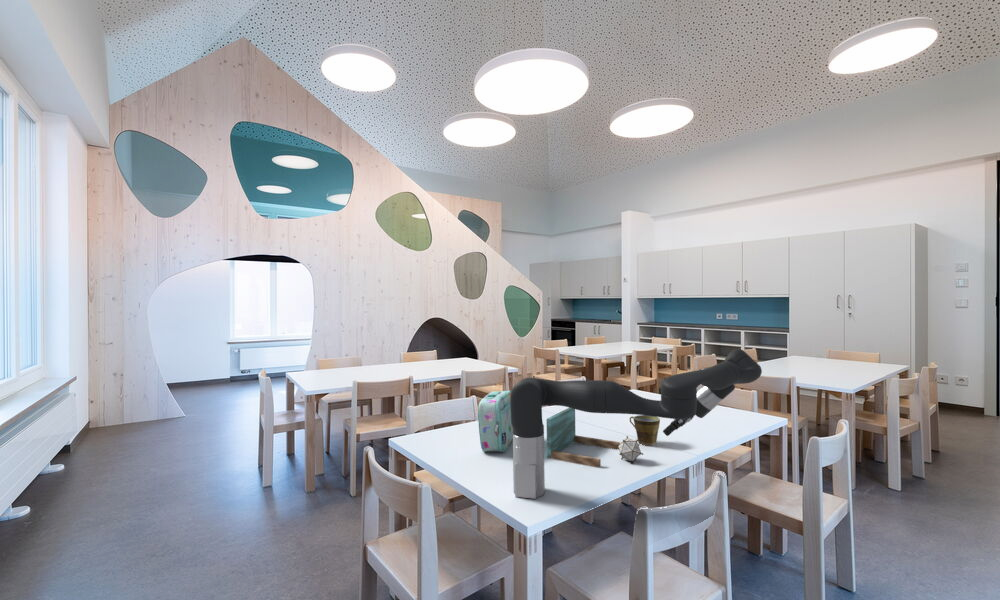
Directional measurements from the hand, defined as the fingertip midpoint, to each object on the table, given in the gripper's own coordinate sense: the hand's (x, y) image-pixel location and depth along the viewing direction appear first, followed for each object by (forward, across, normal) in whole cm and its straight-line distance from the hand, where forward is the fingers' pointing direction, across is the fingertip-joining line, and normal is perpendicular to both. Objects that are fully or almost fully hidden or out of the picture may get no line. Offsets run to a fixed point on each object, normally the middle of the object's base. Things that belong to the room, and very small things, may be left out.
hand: (665, 433), depth 152 cm
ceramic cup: (+18, +23, +2) cm, 29 cm away
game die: (+17, 0, +1) cm, 17 cm away
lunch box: (+51, -8, +36) cm, 63 cm away
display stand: (+28, 0, +12) cm, 30 cm away
